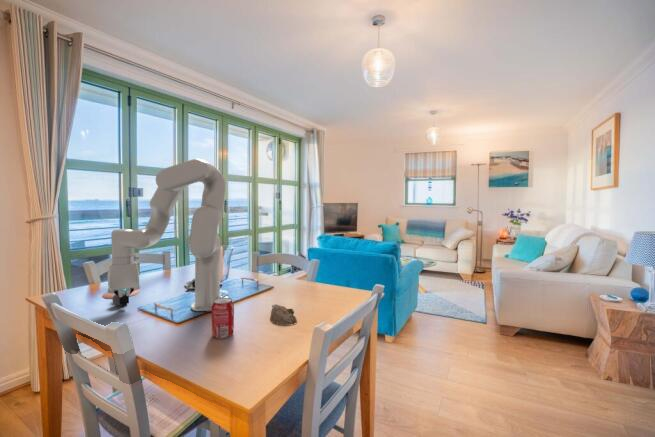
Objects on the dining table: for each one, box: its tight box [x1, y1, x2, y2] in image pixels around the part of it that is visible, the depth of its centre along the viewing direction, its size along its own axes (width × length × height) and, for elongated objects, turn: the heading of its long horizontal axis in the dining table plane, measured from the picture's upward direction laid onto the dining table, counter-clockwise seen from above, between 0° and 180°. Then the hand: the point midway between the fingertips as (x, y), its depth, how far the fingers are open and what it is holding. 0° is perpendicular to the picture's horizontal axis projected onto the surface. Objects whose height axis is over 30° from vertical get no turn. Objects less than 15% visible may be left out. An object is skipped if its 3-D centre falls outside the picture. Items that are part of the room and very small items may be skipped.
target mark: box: [102, 289, 140, 300], centre depth 139 cm, size 14×14×1 cm
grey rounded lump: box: [111, 292, 125, 307], centre depth 124 cm, size 6×6×6 cm
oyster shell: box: [269, 304, 298, 325], centre depth 115 cm, size 10×12×5 cm
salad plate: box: [184, 277, 223, 292], centre depth 156 cm, size 19×18×5 cm
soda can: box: [211, 296, 235, 340], centre depth 100 cm, size 7×7×12 cm
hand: (124, 305), depth 120 cm, fingers closed
